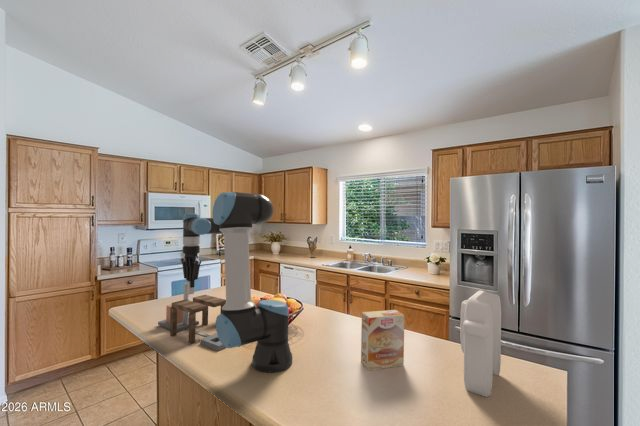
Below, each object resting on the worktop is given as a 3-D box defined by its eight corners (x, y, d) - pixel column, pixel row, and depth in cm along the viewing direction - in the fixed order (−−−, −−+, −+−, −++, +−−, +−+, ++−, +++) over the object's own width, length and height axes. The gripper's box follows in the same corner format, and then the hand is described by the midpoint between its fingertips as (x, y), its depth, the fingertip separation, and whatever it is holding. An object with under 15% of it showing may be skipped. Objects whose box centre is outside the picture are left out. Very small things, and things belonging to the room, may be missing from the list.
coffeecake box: (367, 371, 112) (368, 317, 112) (360, 362, 119) (360, 311, 119) (404, 366, 116) (405, 314, 116) (395, 357, 123) (395, 308, 123)
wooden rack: (229, 331, 148) (229, 300, 148) (193, 345, 132) (194, 310, 132) (184, 316, 167) (184, 289, 167) (149, 327, 151) (149, 296, 152)
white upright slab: (470, 361, 121) (471, 284, 121) (503, 370, 114) (504, 289, 114) (449, 391, 100) (450, 299, 100) (487, 405, 93) (489, 305, 93)
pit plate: (244, 339, 138) (244, 335, 139) (218, 350, 127) (218, 345, 127) (226, 333, 145) (226, 329, 145) (200, 343, 133) (200, 339, 133)
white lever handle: (198, 324, 155) (199, 281, 155) (176, 331, 145) (177, 286, 145) (180, 318, 164) (180, 277, 164) (157, 324, 154) (158, 281, 154)
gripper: (206, 245, 149) (205, 294, 149) (190, 243, 156) (189, 290, 156) (192, 246, 143) (191, 297, 142) (176, 244, 150) (175, 293, 150)
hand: (190, 293), depth 149 cm, fingers closed
